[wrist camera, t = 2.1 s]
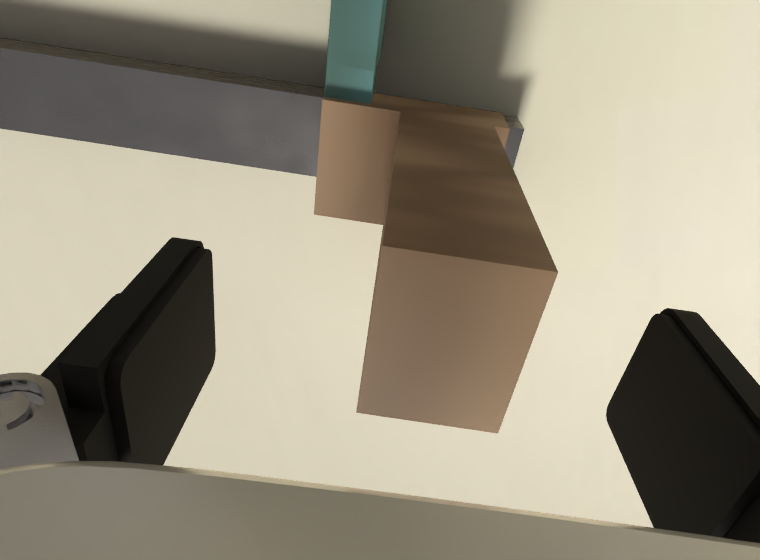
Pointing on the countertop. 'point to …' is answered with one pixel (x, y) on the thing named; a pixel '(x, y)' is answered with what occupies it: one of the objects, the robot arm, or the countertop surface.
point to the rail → (167, 108)
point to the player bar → (430, 237)
